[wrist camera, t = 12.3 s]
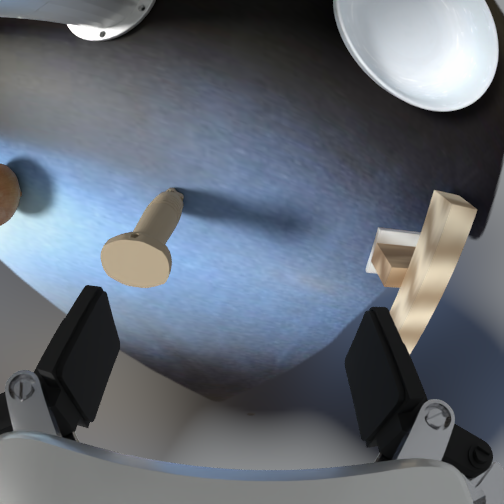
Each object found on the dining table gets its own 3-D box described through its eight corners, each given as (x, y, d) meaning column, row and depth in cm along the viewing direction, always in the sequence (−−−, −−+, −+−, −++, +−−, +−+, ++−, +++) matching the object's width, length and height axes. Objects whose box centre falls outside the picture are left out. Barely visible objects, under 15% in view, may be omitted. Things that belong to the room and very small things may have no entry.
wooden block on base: (378, 227, 40) (396, 253, 34) (429, 233, 40) (451, 258, 34) (365, 269, 44) (379, 299, 38) (415, 272, 44) (432, 299, 38)
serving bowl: (480, 96, 29) (512, 104, 23) (349, 117, 33) (369, 126, 27) (441, -40, 19) (468, -51, 13) (295, -39, 22) (304, -61, 16)
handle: (148, 179, 37) (97, 236, 24) (198, 182, 37) (168, 244, 24) (149, 213, 39) (105, 282, 26) (196, 218, 40) (170, 291, 27)
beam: (434, 189, 30) (452, 204, 26) (458, 195, 30) (477, 209, 27) (375, 342, 42) (382, 362, 39) (397, 341, 42) (405, 361, 39)
